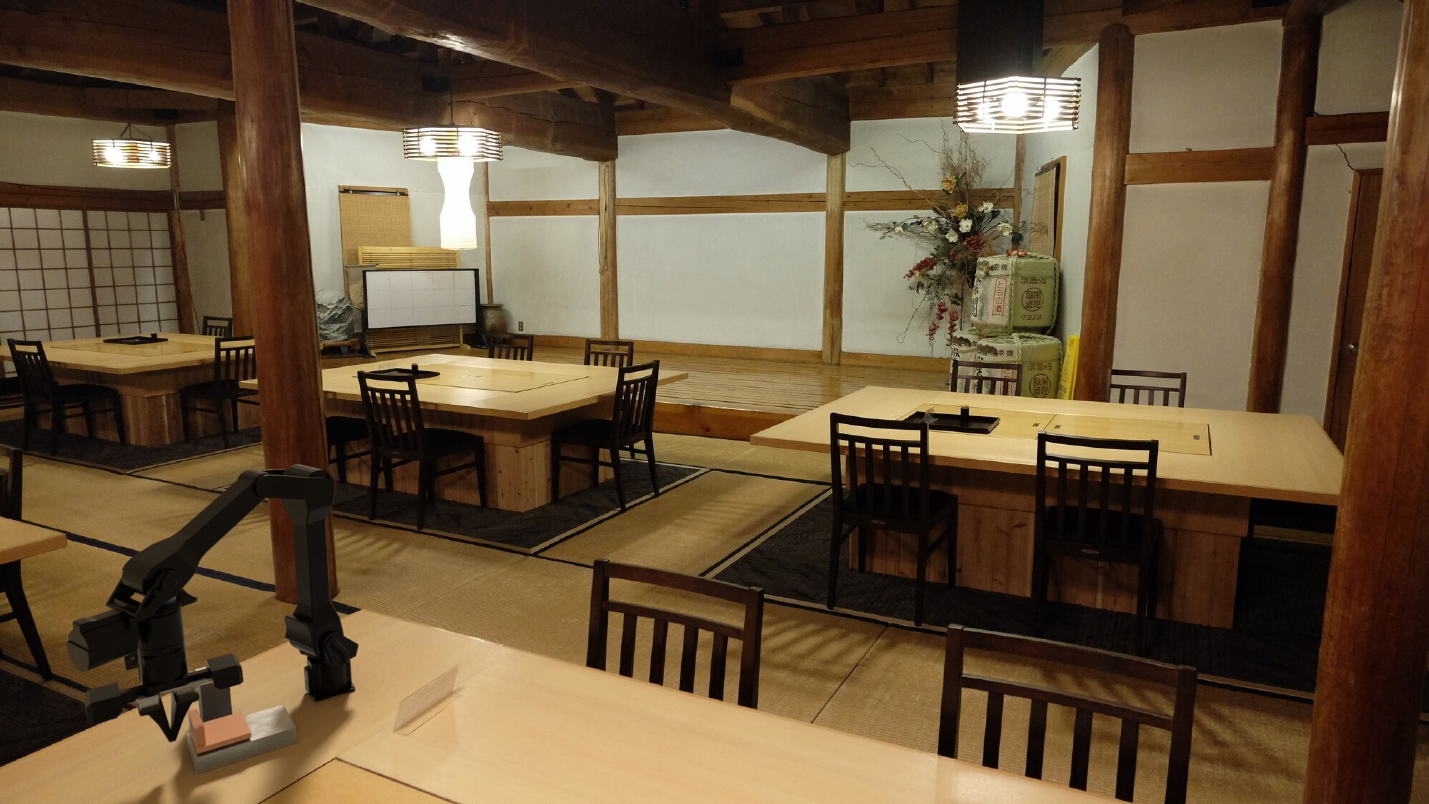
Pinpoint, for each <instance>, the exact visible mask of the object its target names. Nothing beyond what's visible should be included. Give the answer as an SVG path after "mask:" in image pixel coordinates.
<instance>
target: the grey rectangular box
mask: <svg viewBox="0 0 1429 804" xmlns="http://www.w3.org/2000/svg"><path fill="white" fill-rule="evenodd" d="M243 716H244V718H245V720H246V722H247V725H248V727H249V729H250V731H251V738H248V739H245V740H241V741H238V742H235V743H232V744H228V745H225V746H222V747H218V748H215V749H212V750H209V751H205V752H202V753H199V754H197V751H196V748H195V745H194V743H193V740H192V737H191V734H190V731H187V732H186V734H185V735H186V742H187V743H186V745H187V750H188V752H189V756H190V758H191V761H192V764H193V767H194V771H195V773H196V775H198V774H202V773H204V772H207V771H211V770H215V769H218V768H220V767H224V766H226V765H230V764H233V763H235V762H236V763H237V762H238V761H242V760H245V759H248V758H252V757H255V756H258V755H260V754H264V753H266V752H270V751H274V750H276V749H279V748H284V747H286V746H289V745H292V744H295V743H298V736H297V725H295V723H294V720H293V719H292V717H291V715H290V714H289V712H288V710H287V708H286V707H285V704H279V705H277V706H273V707H270V708H266V709H263V710H259V711H256V712H253V713H249V714H246V715H243Z"/></svg>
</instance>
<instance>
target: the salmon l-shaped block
mask: <svg viewBox="0 0 1429 804" xmlns="http://www.w3.org/2000/svg"><path fill="white" fill-rule="evenodd" d="M187 714H188V723H189V724H188V725H189V727H188V728H189V732H190V734H191V737H192V740H193V743H194V745H195V748H196V751H197V754H199V753H202V752H205V751H209V750H212V749H215V748H218V747H222V746H225V745H228V744H232V743H235V742H238V741H241V740H245V739H248V738H251V731H250V729H249V727H248V725H247V722H246V720H245V718H244V716H245V715H244V714H243V712H242V711H239V712H236V713H232V715H228V716H225V717H221V718H218V719H214V720H211V721H207V722H204V723H203V722H202V720H201V717H200V712H199V710H198V708H194V709H191V710H190V709H189V710H188V712H187Z"/></svg>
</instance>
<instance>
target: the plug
mask: <svg viewBox="0 0 1429 804" xmlns="http://www.w3.org/2000/svg"><path fill="white" fill-rule="evenodd" d="M202 669H206V666H204V667H199V668H196V669H195V670H194V671H198V670H202ZM196 689H197V691H198V694H199V698H200V699H199V700H198V701H197V702H198V708H199V710H198V712H199V714H200V717H201V720H202V722H203V723H204V722H207V721H211V720H214V719H218V718H221V717H225V716H228V715H232V714H233V708H232V707H233V705H232V693H231V687H229V688H225V689H222V690H220V689H218V688H216V687H214V686H213V681H209V682H205V683H202V684H198V688H196Z"/></svg>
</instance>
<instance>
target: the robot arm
mask: <svg viewBox="0 0 1429 804" xmlns="http://www.w3.org/2000/svg"><path fill="white" fill-rule="evenodd" d="M335 492H336V480H335V477H334V476H333V475H332V474H331V473H330V472H328V470H324V469H321V468H316V467H312V466H308V465H304V464H301V463H298V464H297V463H295V464H292V465H289V466H288V467H286V468H284V469H282V468H281V469H279V468H278V469H277V468H268V469H262V470H258V469H252V468H251V469H248V470H244V471H243V472H241V473H240V474H239V475H238V477H237V479H236V480H235V481H234V482H232V484H231V485H230V486H228V487H227V488H226V489H225V490H224V491H223V492H222V493H220V495H218V496H217V497H216V498H214V500H213V501H211V503H209V504H207V506H206V507H205V508H204V509H202V510H201V511H200V512H199V513H198V514H197V515H195V516H194V517H193V518H192V519H191V520H190V521H188V522H187V523H186V524H185V525H184V526H183V527H181V529H179V530H178V531H177V532H176V533H174V534H172V535H171V536H169V537H166V538H164V539H162V540H159V541H156V542H153V543H152V544H150V545H148V546H147V547H145V548H144V549H142V550H141V551H139V552H138V553H136V554H135V555H133V556H132V557H130V558H129V559H128V560H127V561H126V563H125V564H124V565H123V567H122V568H121V569H122V574H121V577H120V579H119V581H118V583H117V584H116V586H115V588H114V590H113V591H112V593H111V594H110V596H109V598H108V599H107V602H106V603H105V607H107V608H109V609H110V610H107V611H105V612H104V611H103V612H101V613H98V614H94V615H91V616H87V617H81V618H79V619H75V620H73V621H72V622H71V623H72V630H70V631H69V634H68V637H67V641H66V643H65V644H66V651H67V655H68V657H69V659H70V662H71V663H72V664H73V666H74V668H76V669H77V670H78V672H81V673H85V672H87V671H91V670H94V669H95V668H98V667H101V666H104V665H107V664H108V663H111V662H114V661H116V660H117V661H118V660H119V659H123V665H124V670H125V671H132V670H135V669H136V670H137V673H138V674H137V676H138V679H139V680H138V681H140V684H141V685H137V686H133V687H129V688H125V689H122V690H120V687H119V683H118V681H116V682H112V683H109V684H105V685H102V686H97V687H92V688H89V689H87V691H86V692H85V693H84V695H83V697H84V705H85V712H86V718H87V724H88V725H92V726H93V725H97V724H101V723H105V722H108V721H112V720H115V719H118V717H119V716H120V715H121V714H122V713H123V711H124V710H123V705H127V704H130V703H135V704H136V707H137V713H138V715H139V716H140V717H145V716H146V717H147V716H148V717H150V718H151V719H152V720H153V722H155V723H156V724H157V725H158V727H159V728H160V730H161V731H162V733H163V734H164V736H165V738H166V739H167V741H168V742H169V743H172V742H176V741H177V739H178V736H179V733H180V730H181V728H182V725H183V722H184V719H185V717H186V716H187V714H188V711H190V708H191V706H192V704H193V703H197V702H198V700H199V699H200V698H199V694H198V691H197V688H198V684H202V683H205V682H209V681H213V686H214V687H216V688H218V689H220V690H222V689H225V688H229V687H230V688H232V687H236V686H239V685H241V684H242V683H244V673H243V667H242V665H241V663H240V661H239V658H238V656H237V655H235V654H233V653H232V652H231V653H228V654H223V655H220V656H215V657H211V658H207V659H205V667H206V669H202V670H198V671H195V670H194V671H193V670H190V671H189V664H188V654H187V647H186V646H187V645H186V637H185V628H184V626H185V625H184V619H183V618H184V617H183V610H182V608H183V607H186V606H189V605H192V604H194V603H197V602H198V597H197V596H195V595H191V594H190V593H188V592H187V591H186V590H185V589H184V588H185V587H186V586H187V584H189V582H190V581H191V580H192V578H193V577H194V576H195V575H196V573H197V570H198V567H199V564H200V562H201V560H202V559H203V558H204V556H205V555H206V554H207V553H208V552H209V551H210V550H211V549H213V547H214V546H215V545H217V544H218V543H219V542H220V541H221V540H222V539H223V538H225V536H226V535H228V533H230V532H231V531H232V530H233V529H234V528H236V526H238V525H239V523H240V522H242V521H243V520H244V519H245V518H246V517H247V516H249V514H250V513H252V511H254V510H255V509H256V508H257V507H258V506H259V505H260V504H261V503H262V502H263V501H264V500H266V499H280V500H281V504H282V506H283V507H284V509H285V511H286V513H287V514H288V516H289V518H290V520H291V523H292V534H293V535H292V536H293V548H294V549H293V551H294V561H295V562H294V565H295V577H296V578H295V579H296V593H297V594H296V595H297V605H296V607H295V608H294V611H292V614H287V615H285V616H284V623H285V627H286V628H285V629H286V630H285V636H284V638H285V639H286V640H288V641H289V644H290V646H292V647H293V648H295V649H297V650H298V651H299V654H300V655H303V656H305V657H306V665H305V666H304V667H303V673H304V674H303V675H304V689H305V690H306V692H307V694H308V695H309V696H311V697H312V698H313V700H314V702H316V703H317V702H321V701H324V700H327V699H331V698H334V697H338V696H341V695H344V694H348V693H351V692H354V691H356V686H355V684H353V681H352V679H353V677H352V666H351V659H353V658H356V656H358V655H357V654H358V649H359V643H357V642H356V641H354V640H353V639H350V638H348V637H346V636H345V635H344V634H345V633H344V629H343V624H342V621H341V617H340V616H339V613H338V612H337V610H336V608H335V607H334V605H333V603H332V600H331V592H330V576H329V574H330V573H329V560H328V559H329V557H328V554H329V553H328V541H327V523H326V521H327V517H328V515H329V513H330V511H331V510H332V509H333V506H334V502H335ZM134 594H135V595H137V596H141V597H143V599H142V601H141V602H140V601H138V600H136V599H135V598H132V597H133V596H134ZM167 693H168V694H169V693H170V698H171V699H170V700H171V701H170V705H171V706H170V708H171V709H170V723H169V720H168V716H167V713H166V709H165V706H164V702H163V699H162V695H163V694H167Z"/></svg>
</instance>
